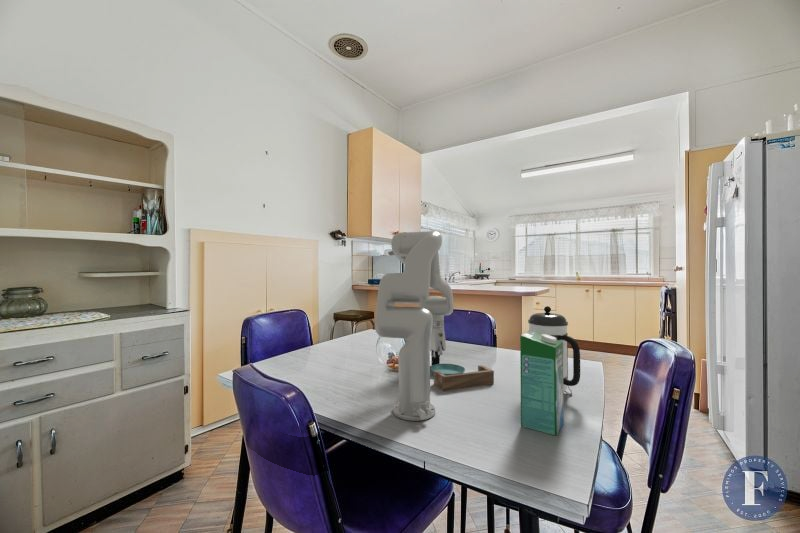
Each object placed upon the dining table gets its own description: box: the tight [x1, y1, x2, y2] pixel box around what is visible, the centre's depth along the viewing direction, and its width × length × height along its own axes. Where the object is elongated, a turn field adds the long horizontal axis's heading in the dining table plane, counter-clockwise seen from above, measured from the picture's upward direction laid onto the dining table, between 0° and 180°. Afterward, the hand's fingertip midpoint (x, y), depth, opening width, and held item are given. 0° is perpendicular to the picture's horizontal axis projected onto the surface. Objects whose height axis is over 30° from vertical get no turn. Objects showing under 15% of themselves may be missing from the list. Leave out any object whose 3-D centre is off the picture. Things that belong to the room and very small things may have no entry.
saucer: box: [430, 363, 466, 375], centre depth 136 cm, size 15×15×3 cm
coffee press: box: [527, 306, 581, 396], centre depth 115 cm, size 17×16×30 cm
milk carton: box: [519, 330, 565, 436], centre depth 92 cm, size 9×9×25 cm
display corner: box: [433, 364, 495, 392], centre depth 124 cm, size 8×21×5 cm, turn 111°
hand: (435, 365), depth 146 cm, fingers closed
